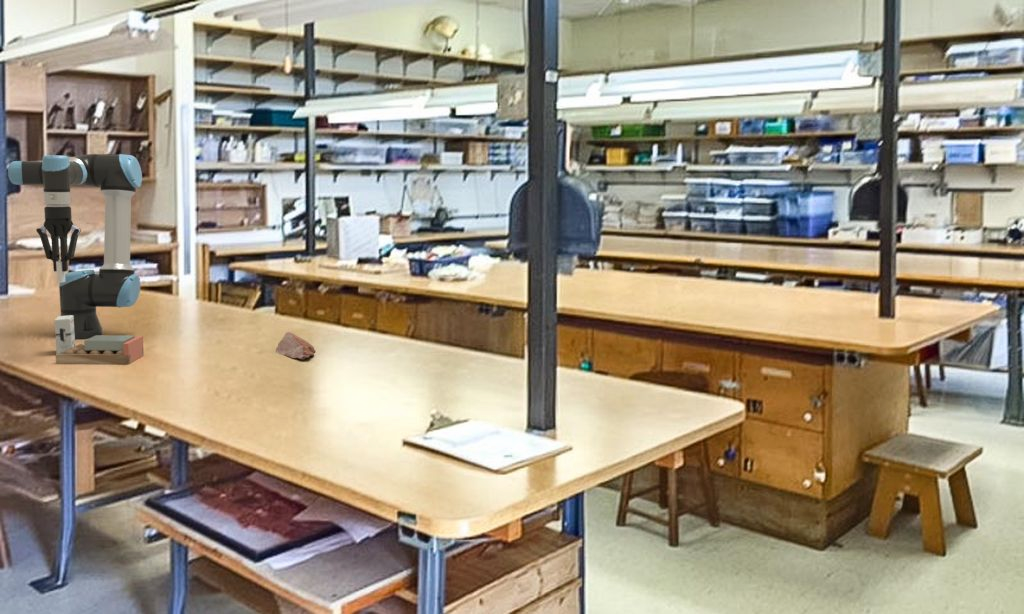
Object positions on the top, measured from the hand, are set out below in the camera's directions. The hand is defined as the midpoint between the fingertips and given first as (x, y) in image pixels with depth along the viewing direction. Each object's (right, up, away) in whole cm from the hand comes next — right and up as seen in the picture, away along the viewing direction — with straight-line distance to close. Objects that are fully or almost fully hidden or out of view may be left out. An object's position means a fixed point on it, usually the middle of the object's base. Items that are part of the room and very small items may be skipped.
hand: (61, 281), depth 310 cm
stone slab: (+14, -20, +3) cm, 25 cm away
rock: (+71, -24, +17) cm, 77 cm away
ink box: (-5, -23, +14) cm, 27 cm away
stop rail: (+21, -24, +4) cm, 33 cm away
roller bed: (+11, -24, +3) cm, 27 cm away
